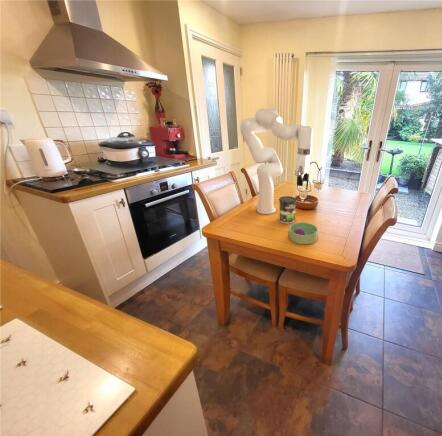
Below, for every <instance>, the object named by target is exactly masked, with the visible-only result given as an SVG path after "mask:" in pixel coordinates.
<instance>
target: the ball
mask: <svg viewBox="0 0 442 436" xmlns="http://www.w3.org/2000/svg"><path fill="white" fill-rule="evenodd" d="M296 234H299V235H305V232H304V231H303V230H302V229H298V230H297V231H296Z"/></svg>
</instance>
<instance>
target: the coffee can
mask: <svg viewBox="0 0 442 436" xmlns="http://www.w3.org/2000/svg"><path fill="white" fill-rule="evenodd" d="M296 204H297V198H296V197H294V196H289V195H287V196H286V195H284V196H280V197H279V198H278V221H279V222H280V223H282V224H286V225H287V224H294V223H295V221H296Z"/></svg>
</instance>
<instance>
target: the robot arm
mask: <svg viewBox="0 0 442 436" xmlns="http://www.w3.org/2000/svg"><path fill="white" fill-rule="evenodd" d="M240 122H241V123H240V126H239V127H240V128H239V129H240V134H241V137H242V138H243V140H244V141H245V143H246V145H247V147H248V149H249V151H250V154H251V156H252V159H253V161H254V162H255V163H256V164H260V165H258V166H257V169H256V174H257V175H256V176H257V181H258V198H259V199H258V202H254V207H257V209H256V212H258V214H261V215H271V214H274V213H275V212H277V211H276V210H277V208H276V207H275V206H274V205H275V204H274V203H275V202H274V199H275V198H274V195H275V194H274V193H275V192H274V190H275V189H274V182H273V181H272V179H274V178H278V177H280V176H282V175H283V171H284V170H283V166H282V163H281V161H280V158H279V156H278V154H277V153H278V152H277V151H276V150H275V149H274V148H273V147H271V146H263V143H262V141H261V139H260V138H259V136H257V135H256V134H257V133H265V132H268V131H269V130H271V132H272V133H271V134H273V136H275V137H277V138H278V139H281V140H283V141H297V146H296V147H297V149H296V155H297V157H296V166H295V174H296V186H297V187H303V186H304V182H309V171H310V165H311V164H310V162H311V156H312V153H313V152H312V151H313V137H314V128H313V127H312V126H309V125H302V124H284V123H283V118H282V117H281V115H280V114H279V112H278V110H276V109H275V108H260V109H258V110H256V111H255V115H254V117H247V118H244V119H243V120H242V121H240Z"/></svg>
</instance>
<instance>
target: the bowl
mask: <svg viewBox="0 0 442 436" xmlns="http://www.w3.org/2000/svg"><path fill="white" fill-rule="evenodd" d="M298 229H302V230H303V231H304V232H305V235H299V234H296V231H297V230H298ZM318 235H319V228H318V227H317V225H315V224H313V223H310V222H303V221H302V222H301V221H300V222H293V223H291V225H289V227H288V238H289V240H290V241H291V242H293V243H295V244H300V245H308V244H309V245H310V244H313V243H315V242H317V240H318Z"/></svg>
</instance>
